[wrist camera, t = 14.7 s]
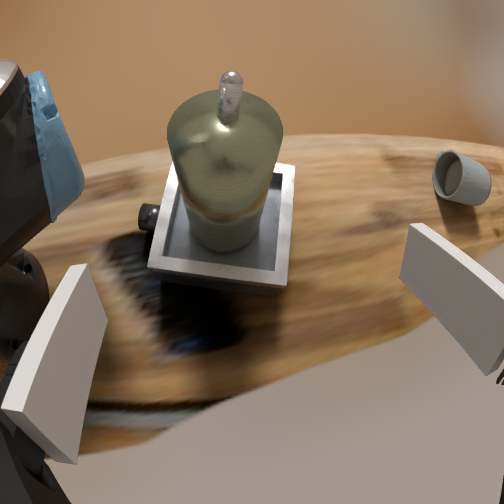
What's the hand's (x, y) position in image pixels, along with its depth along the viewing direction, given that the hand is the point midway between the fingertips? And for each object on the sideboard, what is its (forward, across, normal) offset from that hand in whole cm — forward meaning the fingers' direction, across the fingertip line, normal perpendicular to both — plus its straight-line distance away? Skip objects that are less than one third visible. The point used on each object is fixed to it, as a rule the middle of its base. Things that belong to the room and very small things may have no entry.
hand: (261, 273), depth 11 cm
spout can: (+19, 0, -5) cm, 20 cm away
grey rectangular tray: (+23, -1, -8) cm, 24 cm away
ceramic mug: (+26, +36, -5) cm, 45 cm away
